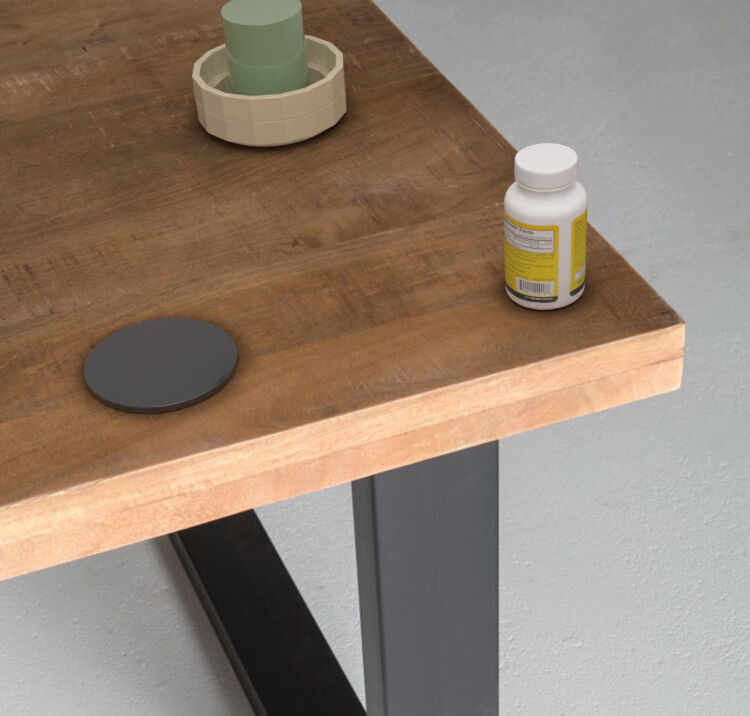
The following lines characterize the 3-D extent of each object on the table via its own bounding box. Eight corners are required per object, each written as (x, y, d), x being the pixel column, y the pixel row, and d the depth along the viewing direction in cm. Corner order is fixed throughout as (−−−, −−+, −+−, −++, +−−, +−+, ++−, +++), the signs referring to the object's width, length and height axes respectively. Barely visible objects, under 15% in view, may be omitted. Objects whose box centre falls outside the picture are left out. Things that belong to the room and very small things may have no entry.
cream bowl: (228, 165, 112) (220, 111, 109) (182, 105, 120) (173, 53, 117) (370, 129, 115) (366, 75, 112) (315, 73, 123) (310, 21, 120)
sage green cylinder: (249, 134, 114) (236, 31, 108) (224, 104, 118) (209, 2, 113) (323, 116, 116) (313, 13, 110) (295, 86, 120) (284, -14, 114)
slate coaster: (108, 430, 87) (106, 424, 87) (68, 349, 94) (66, 342, 94) (259, 385, 90) (258, 379, 90) (210, 308, 97) (208, 302, 96)
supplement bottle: (562, 261, 98) (567, 130, 92) (598, 300, 95) (605, 166, 88) (491, 280, 97) (490, 148, 90) (524, 320, 93) (526, 185, 87)
